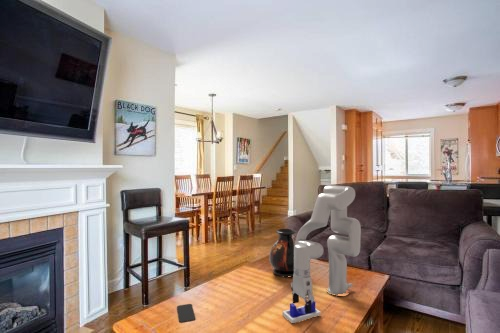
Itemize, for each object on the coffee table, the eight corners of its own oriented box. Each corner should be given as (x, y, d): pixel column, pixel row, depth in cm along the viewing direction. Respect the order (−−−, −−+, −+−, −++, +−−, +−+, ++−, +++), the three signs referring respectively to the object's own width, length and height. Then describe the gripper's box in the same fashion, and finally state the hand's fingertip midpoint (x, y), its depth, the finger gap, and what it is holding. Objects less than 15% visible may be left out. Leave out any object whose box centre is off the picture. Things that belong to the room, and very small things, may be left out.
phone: (179, 322, 125) (176, 305, 139) (179, 324, 125) (176, 307, 139) (195, 319, 127) (191, 303, 141) (195, 321, 127) (191, 305, 141)
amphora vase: (264, 269, 190) (264, 228, 190) (293, 265, 196) (293, 226, 196) (276, 281, 169) (277, 235, 169) (308, 277, 176) (308, 233, 175)
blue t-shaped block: (310, 310, 136) (310, 297, 135) (315, 314, 131) (315, 302, 131) (288, 314, 131) (288, 302, 131) (293, 319, 127) (293, 306, 127)
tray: (310, 308, 138) (310, 304, 138) (320, 316, 131) (320, 311, 131) (282, 315, 131) (282, 311, 131) (292, 324, 124) (292, 319, 124)
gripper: (320, 276, 125) (320, 314, 125) (297, 264, 141) (297, 297, 141) (306, 279, 122) (306, 318, 122) (285, 266, 137) (285, 300, 138)
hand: (301, 307), depth 131 cm, fingers open, 9 cm apart
